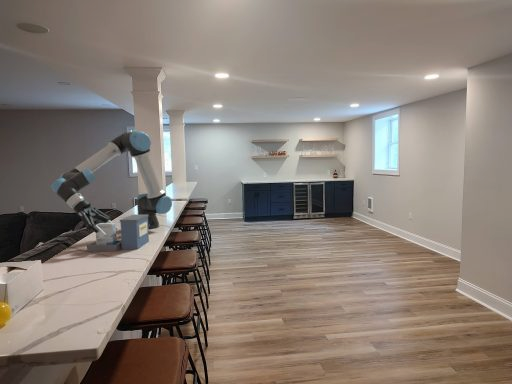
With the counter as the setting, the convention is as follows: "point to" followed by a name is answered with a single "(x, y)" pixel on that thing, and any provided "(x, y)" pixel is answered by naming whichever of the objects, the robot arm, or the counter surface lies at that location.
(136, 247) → the housing unit
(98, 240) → the ink box
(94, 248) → the tray
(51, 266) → the counter surface
